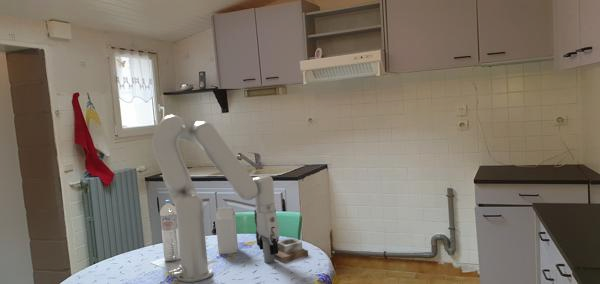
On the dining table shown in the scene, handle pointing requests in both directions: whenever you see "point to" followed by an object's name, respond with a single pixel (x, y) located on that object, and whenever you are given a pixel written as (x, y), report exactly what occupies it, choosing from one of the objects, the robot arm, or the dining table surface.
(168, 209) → the water bottle
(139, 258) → the dining table surface
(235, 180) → the robot arm
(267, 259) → the cylinder
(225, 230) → the milk carton
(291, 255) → the manifold board
